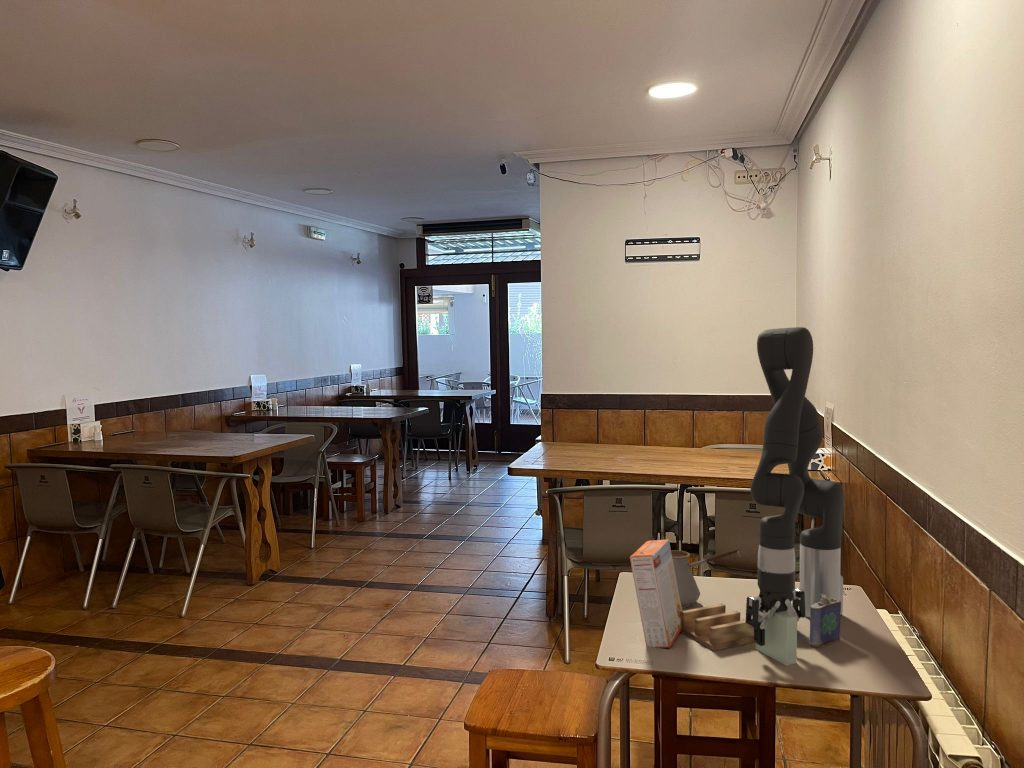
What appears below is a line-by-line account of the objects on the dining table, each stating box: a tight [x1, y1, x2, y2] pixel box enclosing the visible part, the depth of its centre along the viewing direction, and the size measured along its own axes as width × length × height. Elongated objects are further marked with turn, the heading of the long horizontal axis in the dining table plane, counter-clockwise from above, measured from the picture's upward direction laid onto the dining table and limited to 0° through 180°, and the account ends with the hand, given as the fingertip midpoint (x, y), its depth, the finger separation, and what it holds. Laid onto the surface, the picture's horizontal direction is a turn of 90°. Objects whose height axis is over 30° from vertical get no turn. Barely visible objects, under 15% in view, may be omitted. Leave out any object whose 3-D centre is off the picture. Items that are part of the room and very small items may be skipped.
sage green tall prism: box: [755, 610, 798, 666], centre depth 155 cm, size 3×9×10 cm, turn 23°
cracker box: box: [629, 539, 683, 649], centre depth 166 cm, size 14×6×21 cm, turn 153°
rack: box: [680, 603, 756, 651], centre depth 166 cm, size 13×13×4 cm
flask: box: [809, 594, 841, 649], centre depth 162 cm, size 9×3×11 cm, turn 121°
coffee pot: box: [671, 548, 742, 609], centre depth 186 cm, size 21×12×15 cm, turn 75°
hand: (775, 641), depth 155 cm, fingers open, 8 cm apart
